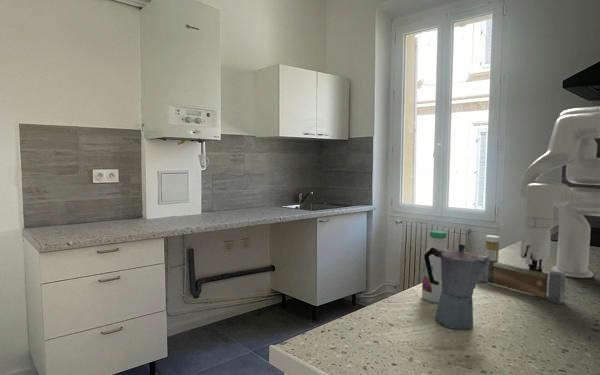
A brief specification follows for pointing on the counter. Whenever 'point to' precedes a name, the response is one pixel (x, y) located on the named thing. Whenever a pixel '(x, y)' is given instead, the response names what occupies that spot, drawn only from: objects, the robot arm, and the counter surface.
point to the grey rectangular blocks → (555, 283)
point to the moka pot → (456, 285)
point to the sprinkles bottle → (492, 247)
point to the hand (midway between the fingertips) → (534, 280)
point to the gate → (518, 278)
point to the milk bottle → (434, 268)
